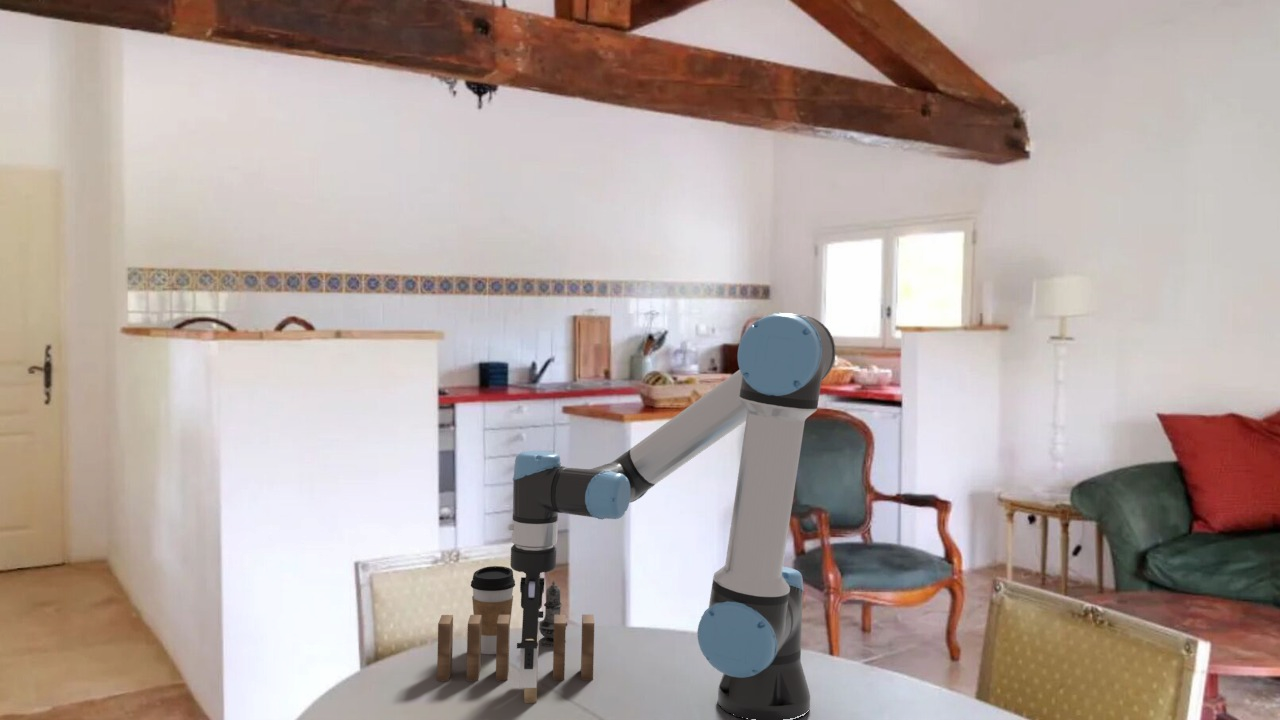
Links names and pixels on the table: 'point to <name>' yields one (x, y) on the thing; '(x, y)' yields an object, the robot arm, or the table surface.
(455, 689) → the table surface
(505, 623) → the domino
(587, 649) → the domino
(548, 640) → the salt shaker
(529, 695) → the oak domino
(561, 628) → the domino
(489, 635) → the coffee cup
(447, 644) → the domino
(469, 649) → the domino
